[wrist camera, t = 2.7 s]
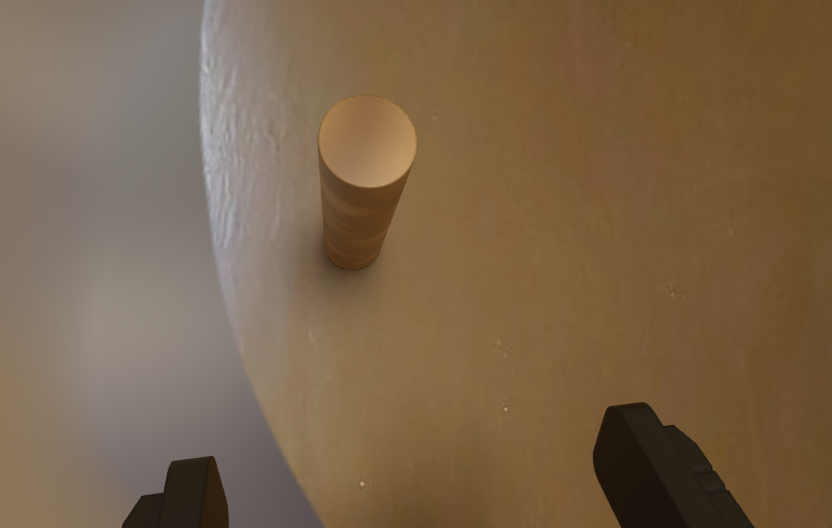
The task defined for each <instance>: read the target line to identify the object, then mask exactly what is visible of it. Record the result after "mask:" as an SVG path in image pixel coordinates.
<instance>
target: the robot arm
mask: <svg viewBox="0 0 832 528" xmlns="http://www.w3.org/2000/svg"><path fill="white" fill-rule="evenodd" d="M593 464H594V469H595V473H596V476H597V479H598V481H599V483H600V485H601V487H602V489H603V491H604V493H605V496H606V498H607V500H608V502H609V504H610V506H611V508H612V510H613V512H614V514H615V516H616V518H617V520H618V522H619V524H620V526H621V528H754V526H753V525H752V523H751V522H750V520H749V519H748V518H747V516H746V515H745V513H744V512H743V510H742V509H741V507H740V506H739V505H738V503H737V502H736V500H735V499H734V497H733V496H732V494H731V493H730V492H729V490H726V488H725V484H724V483H723V481H722V480H721V479H720V477H719V476H718V474H717V473H716V471H713V470H712V466H711V464H710V463H709V461H708V460H707V458H706V457H705V455H704V454H703V453H702V451H701V450H700V448H699V447H698V445H697V444H696V443H695V442H694V441H693V440H691V439H690V438H689V437H688V436H686V435H685V434H684V433H683V432H682V431H680V430H679V429H678V428H677V427H676V426H674V425H669V426H663V425H662V423H661V422H660V420H659V419H658V417H657V415H656V414H655V412H654V411H653V410H652V408H651V407H650V406H649V405H648V404H646V403H644V402H640V403H632V404H624V405H617V406H610V407H608V408H607V410H606V412H605V415H604V418H603V421H602V424H601V428H600V431H599V434H598V437H597V441H596V444H595V447H594V451H593ZM122 528H229V516H228V505H227V500H226V496H225V493H224V489H223V486H222V482H221V479H220V475H219V472H218V468H217V464H216V461H215V458H214V457H213V456H209V457H201V458H193V459H185V460H178V461H172V462H171V464H170V466H169V469H168V472H167V478H166V482H165V487H164V492H163V493H159V494H151V495H144V496H141V498H140V499H139V500H138V502H137V503H136V505H135V507H134V508H133V510H132V511H131V512H130V514H129V515H128V517H127V518H126V520H125V521H124V523H123V525H122Z"/></svg>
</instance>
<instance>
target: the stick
mask: <svg viewBox="0 0 832 528" xmlns="http://www.w3.org/2000/svg"><path fill="white" fill-rule="evenodd" d="M317 142H318V156H319V170H320V184H321V198H322V212H323V226H324V240H325V248H326V251H327V254H328V255H329V257H330V258H331V260H332V261H333V262H334V263H336V264H337V265H339V266H340V267H343V268H346V269H361V268H364V267H366V266H368V265H369V264H371V263H372V262H373V261H374V260H375V259H376V257H377V256H378V254H379V252H380V249H381V246H382V244H383V241H384V238H385V236H386V233H387V230H388V228H389V225H390V223H391V220H392V217H393V215H394V212H395V209H396V207H397V204H398V202H399V199H400V196H401V194H402V191H403V188H404V186H405V183H406V180H407V178H408V175H409V173H410V170H411V167H412V165H413V162H414V159H415V156H416V152H417V136H416V132H415V129H414V126H413V124H412V122H411V120H410V119H409V117H408V116H407V115H406V113H405V112H404V111H403V110H402V109H401V108H400V107H398V106H397V105H396V104H394V103H393V102H391V101H389V100H387V99H385V98H382V97H378V96H373V95H358V96H352V97H349V98H346V99H344V100H342V101H340V102H339V103H337V104H336V105H334V106H333V107H332V108H331V109H330V110H329V111H328V112H327V113H326V115H325V116H324V118H323V120H322V122H321V124H320V127H319V131H318V141H317Z"/></svg>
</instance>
